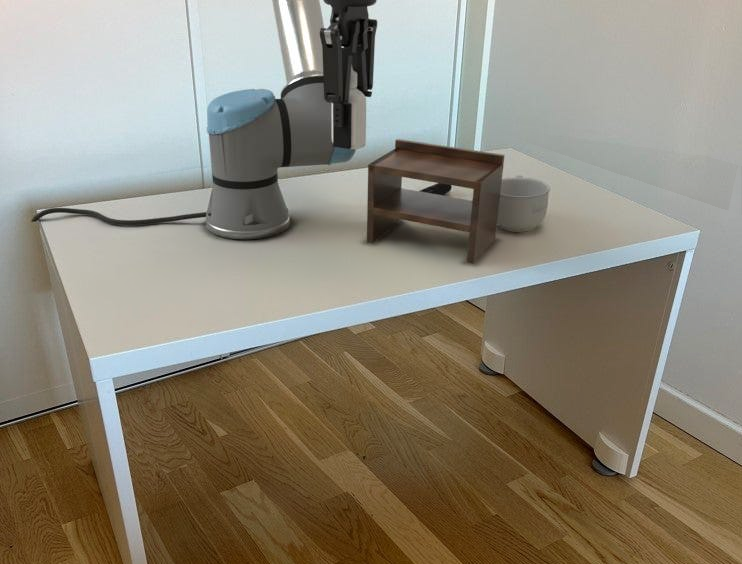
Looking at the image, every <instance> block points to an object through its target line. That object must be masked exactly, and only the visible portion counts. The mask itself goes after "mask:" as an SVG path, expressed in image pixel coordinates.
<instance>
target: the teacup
mask: <svg viewBox="0 0 742 564" xmlns="http://www.w3.org/2000/svg"><path fill="white" fill-rule="evenodd" d="M550 190H551V187H550V185H549V184H548V183H546V182H545V181H542V180H541V179H535V178H530V177H528V178H527V177H523V175H515V176H514V177H507V178H506V177H505V178H502V183H501V191H500V200H499V209H498V218H497V225H498V227H499V228H500V229H502V230H504V231H507V232H511V233H512V232H513V233H525V232H529V231H533V230H534V229H535V228H536V227H538V226H539V225H541V224H542V222H544V220H545V219H546V217H547V216H546V215H547V211H548V206H549V205H548V204H549V195H550V192H551V191H550Z"/></svg>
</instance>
